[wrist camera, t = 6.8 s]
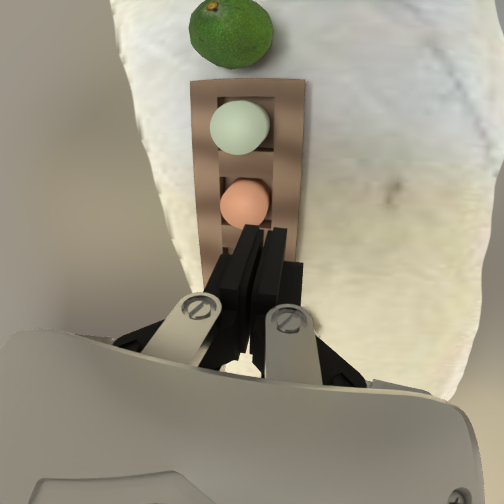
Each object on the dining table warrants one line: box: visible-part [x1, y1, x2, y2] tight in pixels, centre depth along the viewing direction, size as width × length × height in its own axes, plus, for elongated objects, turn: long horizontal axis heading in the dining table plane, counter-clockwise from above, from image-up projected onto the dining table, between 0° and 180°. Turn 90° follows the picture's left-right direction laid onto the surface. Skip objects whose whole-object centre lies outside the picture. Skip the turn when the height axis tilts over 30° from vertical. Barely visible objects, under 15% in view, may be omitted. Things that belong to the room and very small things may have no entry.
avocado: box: [189, 0, 273, 69], centre depth 22 cm, size 8×8×12 cm
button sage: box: [210, 100, 270, 155], centre depth 28 cm, size 5×5×4 cm
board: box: [190, 78, 305, 289], centre depth 35 cm, size 28×12×3 cm, turn 0°
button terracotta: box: [220, 177, 271, 229], centre depth 34 cm, size 5×5×4 cm
